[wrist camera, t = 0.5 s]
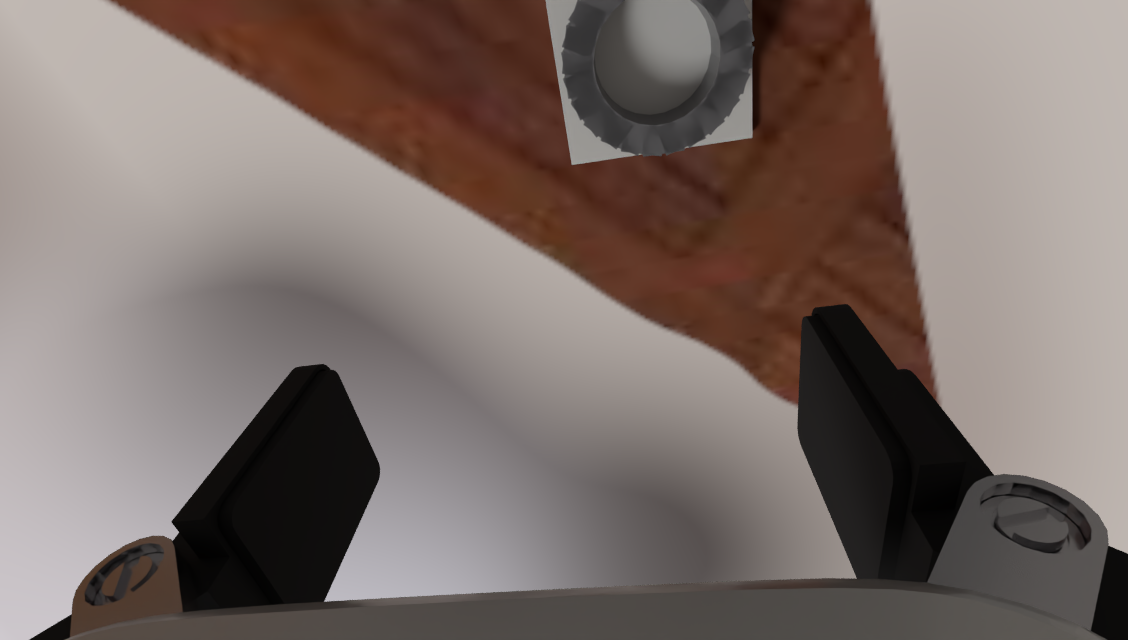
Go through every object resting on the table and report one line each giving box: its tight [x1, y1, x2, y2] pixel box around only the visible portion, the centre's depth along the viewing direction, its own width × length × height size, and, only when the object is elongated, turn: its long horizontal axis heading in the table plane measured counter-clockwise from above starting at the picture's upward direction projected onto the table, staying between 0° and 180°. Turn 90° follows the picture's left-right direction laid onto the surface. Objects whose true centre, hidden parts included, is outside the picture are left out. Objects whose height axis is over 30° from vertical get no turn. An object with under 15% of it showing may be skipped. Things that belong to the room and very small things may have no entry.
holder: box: [546, 0, 755, 165], centre depth 31 cm, size 11×11×4 cm
